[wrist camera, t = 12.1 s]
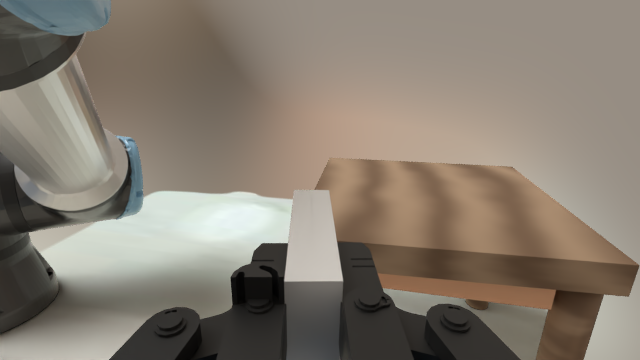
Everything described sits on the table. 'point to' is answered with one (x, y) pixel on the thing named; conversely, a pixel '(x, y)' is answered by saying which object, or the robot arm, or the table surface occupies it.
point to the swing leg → (472, 290)
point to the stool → (479, 237)
